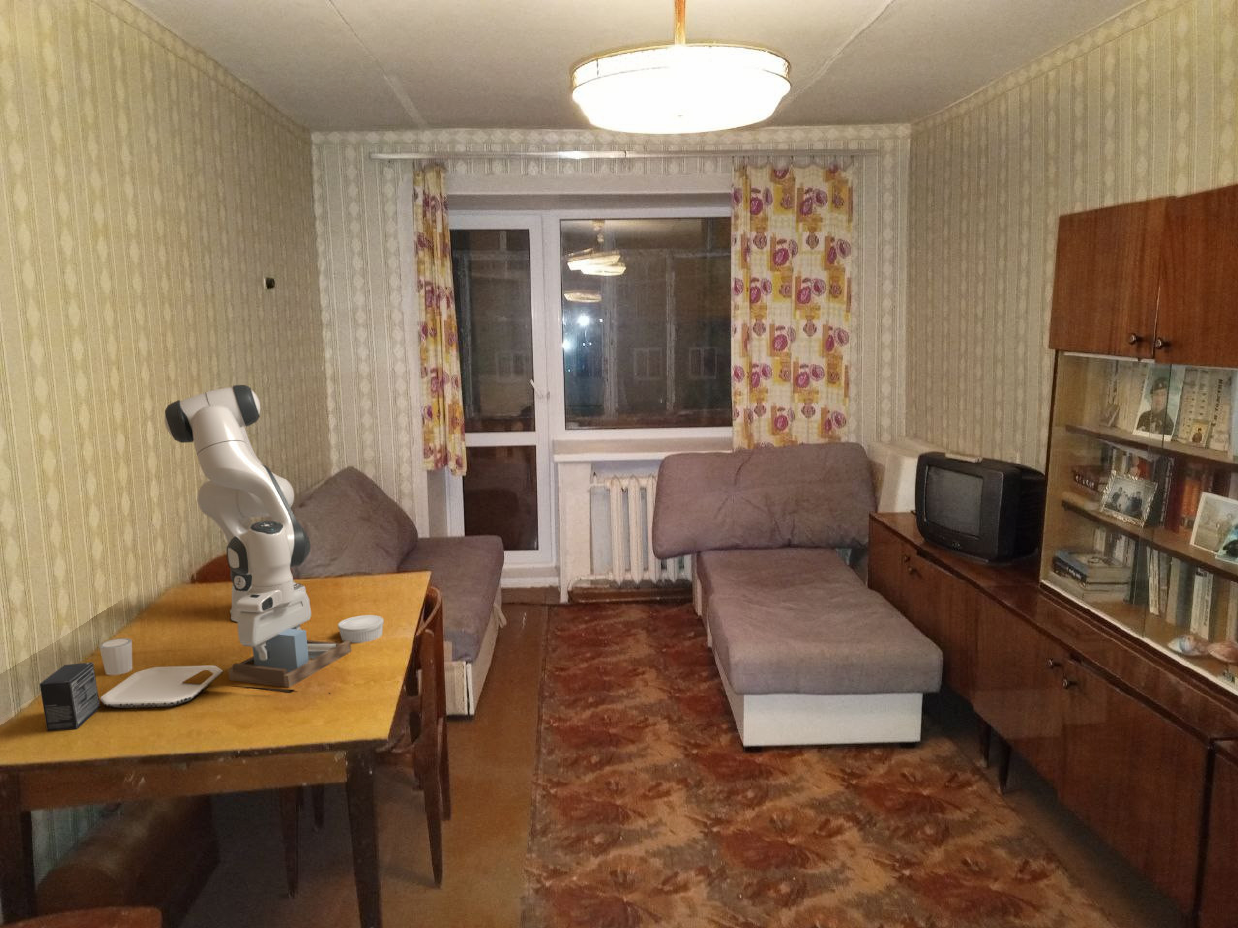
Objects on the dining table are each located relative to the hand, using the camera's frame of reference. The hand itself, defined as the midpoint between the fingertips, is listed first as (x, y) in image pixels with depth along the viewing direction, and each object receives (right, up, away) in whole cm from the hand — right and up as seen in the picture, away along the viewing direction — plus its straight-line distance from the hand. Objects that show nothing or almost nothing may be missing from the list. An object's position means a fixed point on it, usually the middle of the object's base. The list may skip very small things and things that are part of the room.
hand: (279, 651), depth 214 cm
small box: (-37, -11, -18) cm, 42 cm away
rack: (+2, -5, +5) cm, 7 cm away
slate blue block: (0, -6, +1) cm, 6 cm away
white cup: (-41, -7, +9) cm, 43 cm away
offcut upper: (+4, -3, +10) cm, 11 cm away
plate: (-24, -8, -4) cm, 26 cm away
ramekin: (+13, -2, +23) cm, 26 cm away
